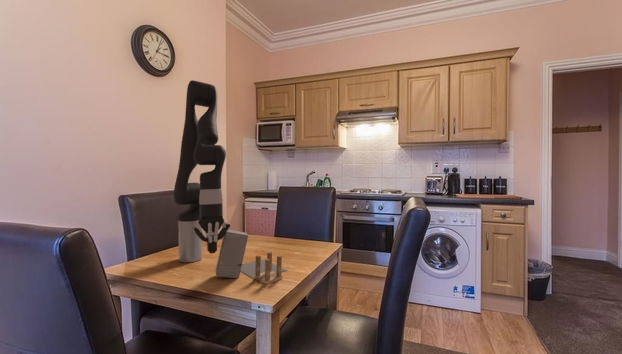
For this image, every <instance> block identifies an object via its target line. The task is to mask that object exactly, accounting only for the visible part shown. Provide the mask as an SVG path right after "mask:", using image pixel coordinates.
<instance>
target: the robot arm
mask: <svg viewBox="0 0 622 354" xmlns="http://www.w3.org/2000/svg"><path fill="white" fill-rule="evenodd" d="M196 106H198V107H199V106H200V107H203V108H204V107H205V108H207V110H206V111H205V112H204V113H203V114H202V115H201V116H200V118H199V119H198V117H197V114H196ZM217 115H218V89H217V87H216V86H215V85H213V84H211V83H206V82H202V81H198V80H193V79H192V80H190V81H189V82H188V84H187V89H186V101H185V115H184V116H185V117H184V125H183V129H182V137H181V144H180V145H181V146H180V155H179V164H178V170H177V174H176V178H175V179H176V180H175V184H174V188H173V200H174V202H175V203H176V205H178V206H183V205H185V206H186V205H189V207H188V208H187V209H186V210H184V211H182V212H180V213H179V214H178V215H177V216H178V217H177V219H178V221H177V222H178V223H177V224H178V262H181V263H193V262H198V261H201V260H202V258H203V257H202V256H203V255H202V254H203V251H202V250H203V248H202V247H203V245H202V244H203V242H205V243H206V246H207V247H206V250H207V252H209V254H211V255H212V254H216V252H217V251H218V241H221V240H223V236H224V235H225V233H226V232H227V230H230V227H231V224H229V223H227V222H226V221H225V219H224V217H223V216H224V213H223V211H224V210H223V201H224V199H223V193H222V173H223V168H224V165H225V161H226V156H227V151H226V149H225V147H224V146H222V145H221V144H217V143H218V142H219V134H218V133H219V132H218V125H217ZM197 165H199V166H214V169H212V170H210V171H204V172H201V173H200V174H199V182H189V181H190V176H191V174H192V173H193V171H194V169H195V168H196V167H197ZM202 230H203V231H204V232H205V233H204V234H203V233H202Z"/></svg>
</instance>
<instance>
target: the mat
mask: <svg viewBox="0 0 622 354" xmlns="http://www.w3.org/2000/svg"><path fill="white" fill-rule="evenodd" d="M265 260H266V259H261V262H260V273H263V272H265ZM255 266H256V260H254V261H250V262H244V263H242V266H241V271H240V273H243V274H244V275H245V276H248V277H249V278H251V279H253V280H255V279H254V275H255ZM287 271H288V270H287V269H285V268H283V267H281V273H284V272H287ZM272 272H275V273H276V272H277V264H275V263H272Z"/></svg>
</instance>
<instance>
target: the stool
mask: <svg viewBox="0 0 622 354" xmlns="http://www.w3.org/2000/svg"><path fill="white" fill-rule="evenodd" d="M272 259H273V252H271V251H268V252H266V259H264V260H265V272H263V273H260V262H261V260H262V259H261V255H260V254H259V255H255V261H256V266H255V275H254V279H253V280H255V281H258V282H260V283H262V284H264V285H269V284H272V283H274V282H278V281H279V280H283V275H282V272H281V268H283V267H282V262H283V260H282V259H283V256H282V255H280V254H279V255H277V256H276V265H277V272H276V273H275V272H272V264H273V260H272Z"/></svg>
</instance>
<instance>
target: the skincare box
mask: <svg viewBox="0 0 622 354" xmlns="http://www.w3.org/2000/svg"><path fill="white" fill-rule="evenodd" d="M248 237H249V234H248V233H247V232H245V231H244V232H243V231H239V230H232V229H228V230H227V232H226V233H225V235H224V236H223V238H222V239H221V244H220V245H221V246H220V249H219V253H218V258H217V262H216V267H215V277H216V278H232V279H233V278H234V279H239V278H240V275H241V266H242V264H243V260H244V257H245V252H246V247H247V243H248Z"/></svg>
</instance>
